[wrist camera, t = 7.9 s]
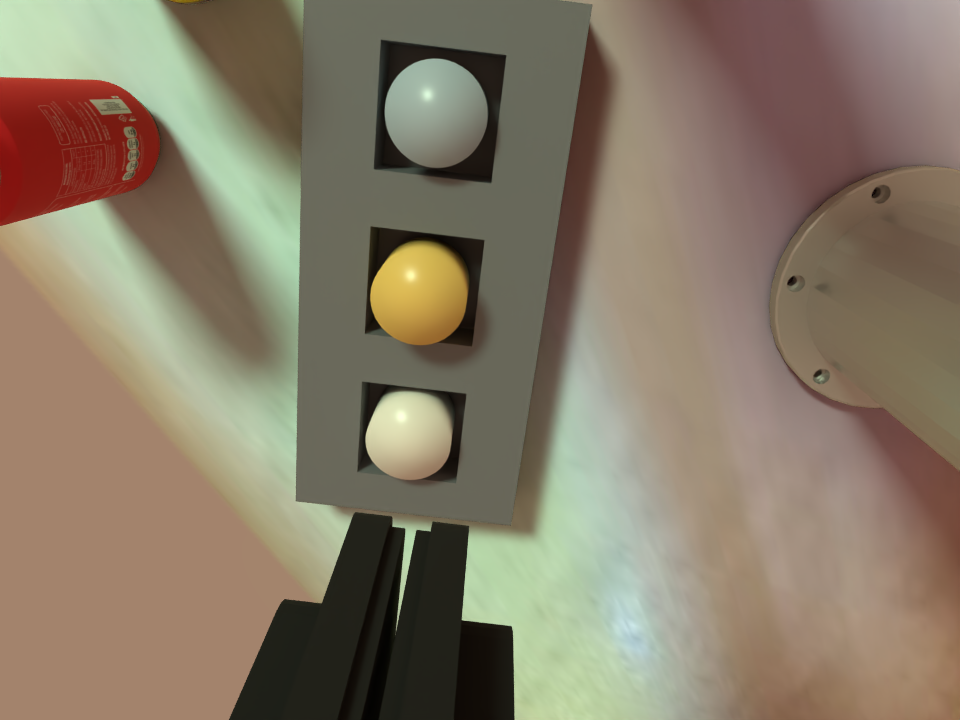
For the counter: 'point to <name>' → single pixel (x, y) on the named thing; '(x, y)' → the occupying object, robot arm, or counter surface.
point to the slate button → (436, 113)
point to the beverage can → (70, 144)
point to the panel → (433, 214)
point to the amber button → (421, 291)
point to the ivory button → (411, 431)
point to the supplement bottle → (190, 1)
